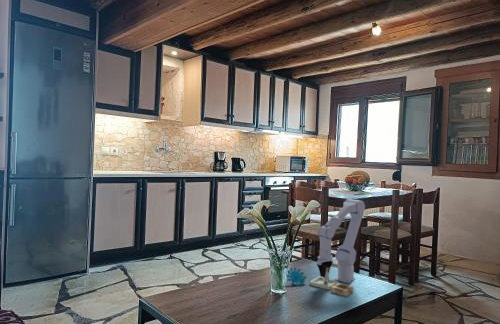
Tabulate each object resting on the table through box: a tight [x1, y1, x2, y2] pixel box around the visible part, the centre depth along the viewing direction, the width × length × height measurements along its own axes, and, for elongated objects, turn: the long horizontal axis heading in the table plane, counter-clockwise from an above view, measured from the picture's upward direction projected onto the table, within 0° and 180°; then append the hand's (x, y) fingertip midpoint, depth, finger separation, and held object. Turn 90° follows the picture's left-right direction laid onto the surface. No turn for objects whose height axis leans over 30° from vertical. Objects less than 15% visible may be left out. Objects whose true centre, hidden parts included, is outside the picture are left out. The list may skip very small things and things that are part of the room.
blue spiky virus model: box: [286, 267, 308, 287], centre depth 183 cm, size 11×6×10 cm
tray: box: [309, 275, 339, 291], centre depth 182 cm, size 11×11×2 cm
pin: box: [323, 267, 330, 284], centre depth 182 cm, size 4×4×8 cm
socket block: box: [330, 282, 354, 297], centre depth 173 cm, size 8×8×2 cm
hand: (324, 275), depth 182 cm, fingers closed on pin, 4 cm apart
